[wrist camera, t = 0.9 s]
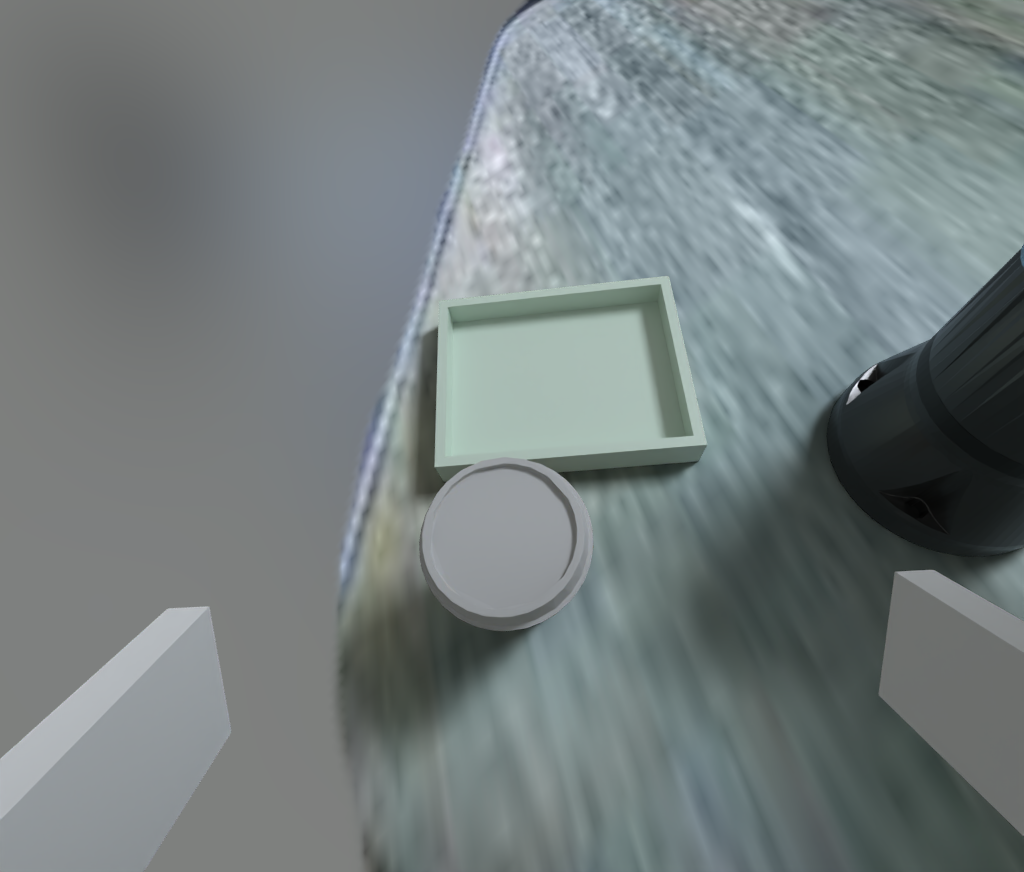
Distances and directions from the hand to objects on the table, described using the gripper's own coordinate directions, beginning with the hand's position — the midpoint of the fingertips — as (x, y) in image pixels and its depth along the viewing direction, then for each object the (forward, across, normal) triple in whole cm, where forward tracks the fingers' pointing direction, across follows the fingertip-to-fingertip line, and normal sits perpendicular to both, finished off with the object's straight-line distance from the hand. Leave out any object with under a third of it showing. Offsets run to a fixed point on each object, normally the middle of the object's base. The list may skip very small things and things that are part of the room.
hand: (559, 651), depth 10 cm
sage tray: (+36, +5, 0) cm, 36 cm away
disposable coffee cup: (+26, 0, -12) cm, 29 cm away
